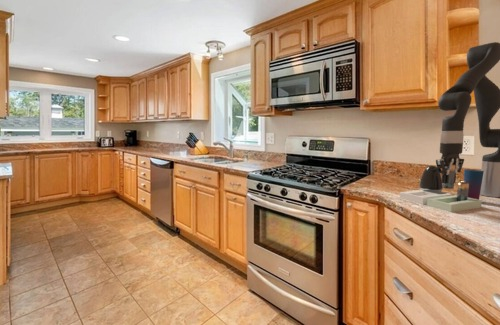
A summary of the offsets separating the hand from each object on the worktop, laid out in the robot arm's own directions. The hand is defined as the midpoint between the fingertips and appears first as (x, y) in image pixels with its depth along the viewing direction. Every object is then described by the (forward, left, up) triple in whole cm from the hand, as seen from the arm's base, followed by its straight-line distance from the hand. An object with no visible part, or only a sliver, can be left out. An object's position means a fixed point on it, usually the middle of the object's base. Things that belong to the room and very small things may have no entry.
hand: (448, 182), depth 111 cm
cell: (0, 0, -2) cm, 2 cm away
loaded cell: (-9, 0, -11) cm, 14 cm away
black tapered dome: (-18, -21, -11) cm, 30 cm away
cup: (-20, -3, -11) cm, 23 cm away
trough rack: (-4, 0, -11) cm, 12 cm away
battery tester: (-4, -13, -11) cm, 18 cm away
